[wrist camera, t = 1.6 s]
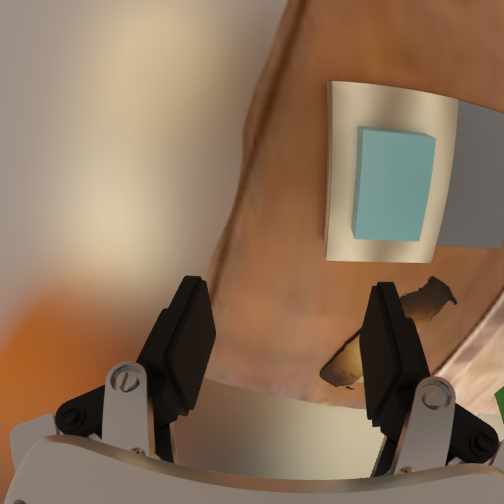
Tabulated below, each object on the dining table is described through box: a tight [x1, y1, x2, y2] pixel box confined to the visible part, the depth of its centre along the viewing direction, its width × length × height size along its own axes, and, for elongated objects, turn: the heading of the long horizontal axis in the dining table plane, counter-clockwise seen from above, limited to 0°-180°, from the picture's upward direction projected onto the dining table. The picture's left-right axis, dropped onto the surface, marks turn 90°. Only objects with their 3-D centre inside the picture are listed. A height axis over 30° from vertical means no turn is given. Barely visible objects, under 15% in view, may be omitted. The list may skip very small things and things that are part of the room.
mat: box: [436, 100, 504, 248], centre depth 24 cm, size 12×16×1 cm
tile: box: [351, 126, 436, 242], centre depth 22 cm, size 6×9×2 cm, turn 4°
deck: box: [323, 81, 458, 263], centre depth 24 cm, size 11×16×4 cm
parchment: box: [320, 276, 457, 390], centre depth 38 cm, size 25×10×1 cm, turn 153°
